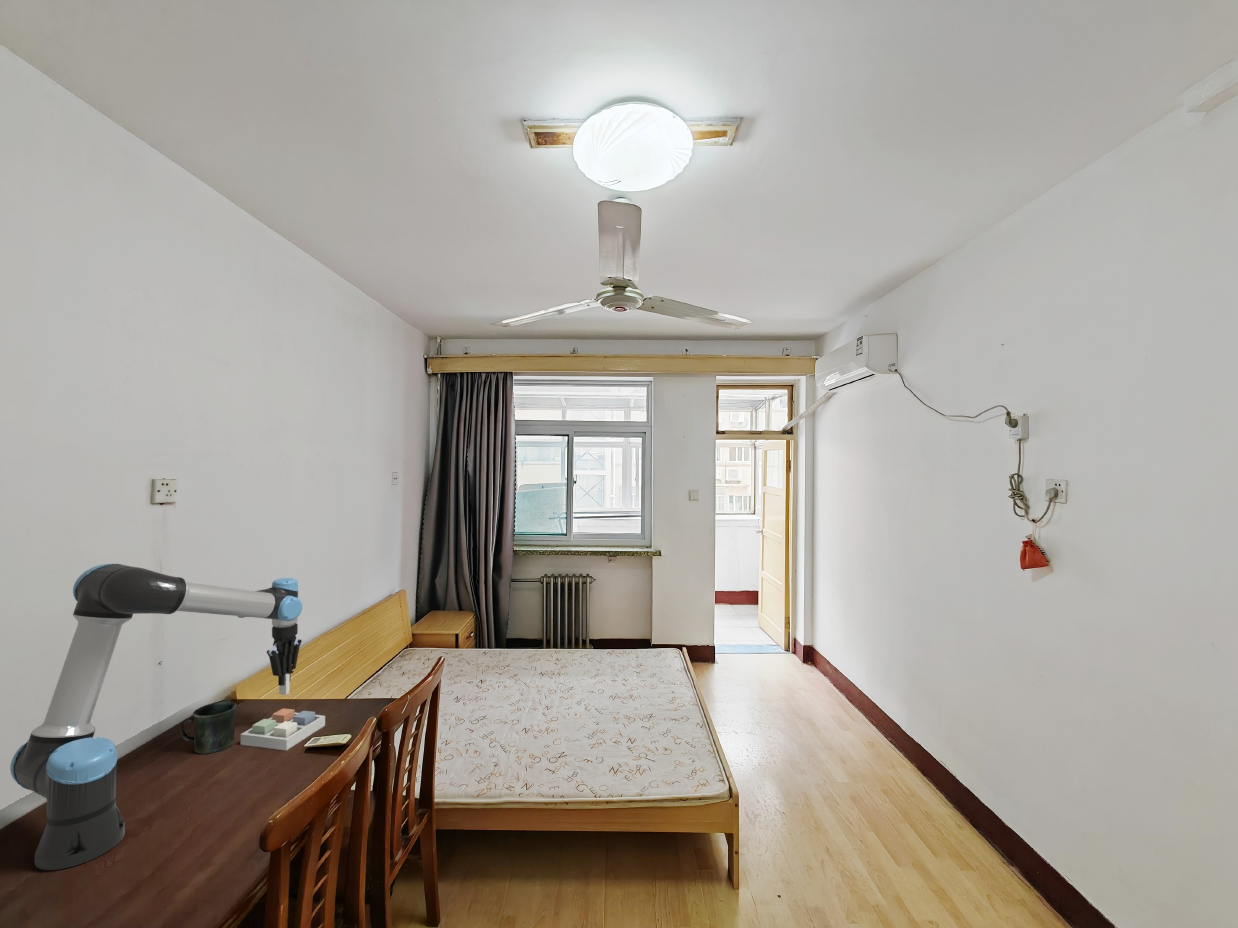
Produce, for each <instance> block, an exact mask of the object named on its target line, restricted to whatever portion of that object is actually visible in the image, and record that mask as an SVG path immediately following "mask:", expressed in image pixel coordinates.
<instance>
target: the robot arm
mask: <svg viewBox="0 0 1238 928" xmlns="http://www.w3.org/2000/svg"><path fill="white" fill-rule="evenodd" d="M73 584H74V585H73V587H72V593H73V597H74V600H75V601H76V604H75V608H74V610H73V614H72V617H74V619H75V620H76V621H77V626H76V629H75V632H74V633H73V638H72V639H71V643H70V646H69V648H68V651H67V654H66V657H65V660H64V663H63V665H62V667H61V668H62V669H61V672H60V675H59V677H58V681H57V683H56V686H55V689H54V692H53V694H52V697H51V700H50V704H49V706H48V708H47V712H46V715H45V718H44V721H43V722H42V723H41V724H40V725H39V726H37V727H36V728H34V729H33V730H32V731H30V735H29V738H28V740H27V741H26V742H25V743H24V744H22V745H20V747H19V748H18V749H17V750H16V752H15V753H14V755H13V756H12V759H11V762H10V766H9V767H10V769H9V770H10V775H11V777H12V779H13V780H14V781H15V782H16V783H17V785H19V786H20V787H21V788H23V789H26V790H28V791H31V792H33V793H35V794H37V795H39V796H40V797H43V798H45V800H46V825H45V828H44V830H43V833H42V835H41V838H40V840H39V843H38V846H37V848H36V850H35V852H34V865H35V867H36V868H37V869H38V870H42V871H57V870H64V869H69V868H72V867H76V866H78V865H81V864H84V863H87V862H90V861H92V860H94V859H96V858H99V857H100V856H103V854H105V853H107V852H109V851H110V850H112V849H113V848H115V847H116V846H118V844H119V843H120V842H122V840H123V838H124V837H125V832H126V824H125V820H124V818H123V817H122V814H121V812H120V810H119V808H118V806H117V803H116V802H117V801H116V800H117V799H116V797H117V796H116V793H117V791H116V790H117V764H118V763H117V762H118V752H117V747H116V744H115V742H114V741H112V740H111V739H108V738H105V737H100V736H99V737H98V736H97V737H95V738H94V736H95V732H96V727H95V726H94V725H93V724H92V722H91V720H92V717H93V715H94V711H95V708H96V705H97V703H98V702H97V701H98V700H99V696H100V693H101V691H102V688H103V684H104V681H105V678H106V674H107V672H108V670H109V665H110V663H111V660H112V657H113V655H114V654H113V653H114V650H115V647H116V645H117V642H118V638H119V635H120V632H121V629H122V626H123V625H124V624H125V623H127V622H129V621H130V620H131V619H132V618H133V615H134V614H135V615H136V614H137V615H138V614H144V615H145V614H155V615H156V614H159V615H160V614H161V615H173V614H175V613H176V612H186V613H187V612H188V613H197V614H198V613H199V614H208V615H221V616H233V617H238V618H239V619H243V618H254V619H255V618H257V619H265V620H266V619H267V620H271V625H272V627H271V638H272V639H273V643H272V648H271V649H268V650H266V654H267V656H268V658H269V663H270V666H271V671H272V676H275V677H277V679H278V680H277V682H278V684H277V685H278V686H279V687H278V688H279V689H278V693H279V695H285V696H286V695H288V694H290V688H291V687H290V686H291V685H290V683H291V679H292V678H291V674H293V673H294V670H295V669H296V668H297V664H298V663H297V662H298V657H299V652H300V647H301V644H302V641H303V639H299V638H297V635H298V631H299V630H298V625H299V624H298V617H299V616H300V615H301V613H302V611H303V602H302V600H301V598H299V585H298V580H297V579H295V578H293V577H283V578H276V579H274V580H273V581H272V582H271V587H268V588H264V589H259V590H247V589H242V588H241V589H240V588H232V587H225V586H217V585H210V584H209V585H208V584H202V583H196V582H188V581H187V580H186V579H185V578H184V577H181V576H173V575H168V574H164V573H161V572H156V571H155V570H150V569H148V568H143V567H137V566H130V565H126V564H121V563H102V564H98V565H95V566H92V567H90V568H89V569H87V570H85V571H84V572H83V573H81V574H80V575H79V576H78V578H77V579H76V581H75V582H74V583H73Z"/></svg>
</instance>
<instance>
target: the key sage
mask: <svg viewBox="0 0 1238 928" xmlns="http://www.w3.org/2000/svg"><path fill="white" fill-rule="evenodd" d="M274 727H276V720H270V719H269V718H263V719H261V720H259V721H258V722H256V723H254V724H252V727H251V728H252V733H257V734H266V733H268V732H270V731H271V730H273V729H274Z"/></svg>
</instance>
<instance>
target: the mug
mask: <svg viewBox="0 0 1238 928" xmlns="http://www.w3.org/2000/svg"><path fill="white" fill-rule="evenodd" d="M236 708H237V703H236V702H233V701H219V702H213V703H209V704H205V705H203V706H200V707H198V708H196V709H195V710H194V711H193V712H192V716H193V717H190V718H186V719H184V720H183V722H181V723H180V726H179V734H180V735H181V738H182V739H183V740H184V741H187V742H193V750H194V752H196V753H197V754H200V755H201V754H202V755H203V754H206V755H207V754H213V753H216V752H217V753H218V752H220V751H223V750H226V749H227V748H228V747H230V746H232V745H233V743H234V742H235V732H236V731H235V719H236V716H235V715H236V713H235V712H236ZM192 722H194V725H193V726H194V729H193V732H194V733H193V735H194V736H189V735H188V734H187V733H186V731H185V727H184V726H185V725H186V724H188V723H192Z"/></svg>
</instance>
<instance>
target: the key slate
mask: <svg viewBox="0 0 1238 928" xmlns="http://www.w3.org/2000/svg"><path fill="white" fill-rule="evenodd" d="M297 713H298V714H297V715H295V716H293V722H296V723H297V725H306V724H308V723H310V722H311V721H313V720H315V715H316V712H315V711H310V710H302V711H300V712H297Z"/></svg>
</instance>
